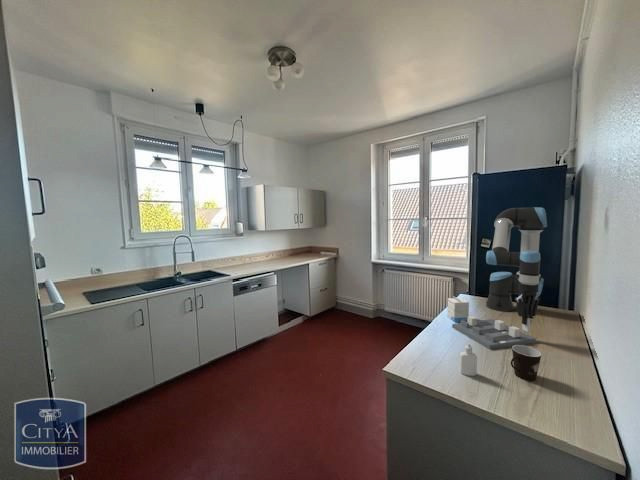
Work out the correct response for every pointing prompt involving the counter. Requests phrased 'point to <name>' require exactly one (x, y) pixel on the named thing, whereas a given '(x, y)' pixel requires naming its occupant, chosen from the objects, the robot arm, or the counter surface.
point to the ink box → (458, 309)
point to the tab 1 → (472, 321)
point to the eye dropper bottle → (468, 362)
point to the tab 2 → (499, 325)
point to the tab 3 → (514, 332)
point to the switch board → (491, 334)
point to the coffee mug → (525, 362)
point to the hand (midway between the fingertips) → (526, 330)
